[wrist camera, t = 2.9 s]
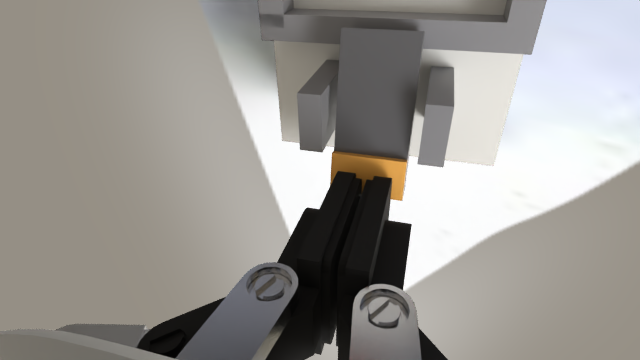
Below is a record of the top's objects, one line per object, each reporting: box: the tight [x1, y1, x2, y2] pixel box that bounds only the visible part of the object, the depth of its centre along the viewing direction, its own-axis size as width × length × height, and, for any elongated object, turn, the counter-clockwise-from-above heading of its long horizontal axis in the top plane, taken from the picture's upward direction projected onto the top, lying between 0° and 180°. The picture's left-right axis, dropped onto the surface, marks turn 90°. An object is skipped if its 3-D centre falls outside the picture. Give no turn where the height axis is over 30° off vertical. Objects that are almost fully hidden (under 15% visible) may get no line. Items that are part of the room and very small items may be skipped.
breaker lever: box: [330, 28, 425, 201], centre depth 11 cm, size 5×2×1 cm, turn 0°
